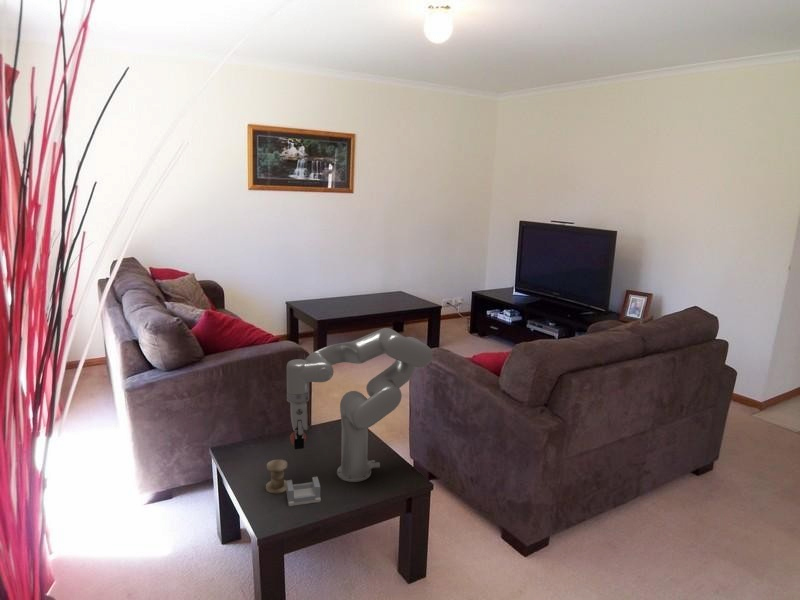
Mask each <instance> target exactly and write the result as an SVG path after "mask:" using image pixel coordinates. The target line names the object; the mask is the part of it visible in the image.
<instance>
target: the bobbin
mask: <svg viewBox="0 0 800 600" xmlns="http://www.w3.org/2000/svg"><path fill="white" fill-rule="evenodd" d="M287 468H288V462H287V461H286V460H285V459H278V458H277V459H272V460H270V461H268V462H267V463H266V469H267V470H268V471H270V480H269V481H268V482H267V483H266V484H265V490H266V492H267V493H270V494H274V495H278V494H282V493H286V489H287V483H286V479H285V470H286V469H287Z"/></svg>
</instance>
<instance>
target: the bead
mask: <svg viewBox="0 0 800 600" xmlns="http://www.w3.org/2000/svg"><path fill="white" fill-rule="evenodd" d="M297 433H298V431H297ZM303 437H304V444H305V443H306V440H307V435H306V433H305V432H304V431H303ZM294 438H295V431H294V432H293V431H292V432H291V434H290V436H289V441H290V443H291V445H293V446H294Z"/></svg>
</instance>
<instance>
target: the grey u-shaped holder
mask: <svg viewBox="0 0 800 600" xmlns="http://www.w3.org/2000/svg"><path fill="white" fill-rule="evenodd" d="M285 480H286V479H285ZM311 480H312V481H310V482H304V483H303V482H302V483H295V484H293V480H292V479H288V480H286V483H287V489H286V491H285V493H286V498H287V505H288V507H293V506H301V505H307V504H312V503H313V504H314V503H321V502H322V499H321V484H320V480H319V478H318V476H312V477H311Z"/></svg>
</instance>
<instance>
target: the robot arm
mask: <svg viewBox="0 0 800 600" xmlns="http://www.w3.org/2000/svg"><path fill="white" fill-rule="evenodd" d="M384 354H385V355H386V356H388V357H389V358H391V359H394V360H395V361H394V362H393V363H392V364H391V365H390V366H389V367H387V368H385V369H384V370H382V371H381V372H380V373H378V374H377V375H376V376H374V377H373V378H371V379H370V380H369V381H368V383H367V384H366V392H367V394H368V397H369V398H368V397H366V395H364V394H363V393H362V392H360V391H357V390H350V391H348V392H346V393H345V394H344V395H343V396H342V397H341V399H340V402H339V403H340V404H339V413H340V422H341V449H340V450H341V462H340V464H341V465H339V467H338V468H337V470H336V475H337V476H338V478H339V479H340V480H342V481H345V482H349V483H358V482H363V481H365V480H367V479H369V478H370V477H371V475H372V469H379V468H381V463H380V461H379V462H378V461H376V460H375V459H372V460H369V459H368V446H369V445H368V442H369V441H368V440H369V439H368V438H369V437H368V435H369V428H371V427H373V426H374V425H376V424H377V423H378V422H380V421H381V420H382V419H384V418H385V417H386V416H389V414H390V413H393V411H395V409H397V407H399V405H400V403H401V401H402V397H403V396H402V395H403V394H402V391H401V389H400V388H401V387H403V386H404V385H406V383H407V382H409V381H410V380H411V378H412V377H413V376H414V373H415V370H416V368H426V367H427V366H428V365H429V364H430V363H431V362H432V361H433V358H434V357H433V351H432V349H431V347H430V346H428V345H427V344H425V342H422V341H421V340H419V339H417V338H415V337H413V336H404V335H402V334H401V333H399V332H397V331H396V330H394V329H393V328H390V327H383V328H381V329H378V330H375V331H373V332H370V333H369V334H367V335H364V336H362V337H359V338H357V339H355V340H352V341H346V342H340V343H335V344H330V345H327V346H325V347H322V348H320V349H317V350H315V351H313V352H312V353H310V354H309V355H307V357H306V358H305V359H302V358H298V359H295V358H294V359H292V360H289V361H288V362H287V364H286V402H288V403H290V406H289V407H290V409H289V410H290V420H291V421H290V422H291V426H292V432H294V431H295V438H294V445H293V446H294V447H293V448H294V450H302V449H304V448H305V443H304V437H303V432H304V431H307V430H308V409H307V408H308V406H307V402H309V400H310V383H326V382H328V381H330V380H331V379H332V378H333V376H334V373H335V371H334V367H333V366H334V365H336V364H337V365H338V364H340V363H349V364H356V365H357V364H364V363H366V362H368V361H370V360H372V359H374V358H377V357H379V356H381V355H384ZM297 431H298V433H297Z"/></svg>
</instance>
